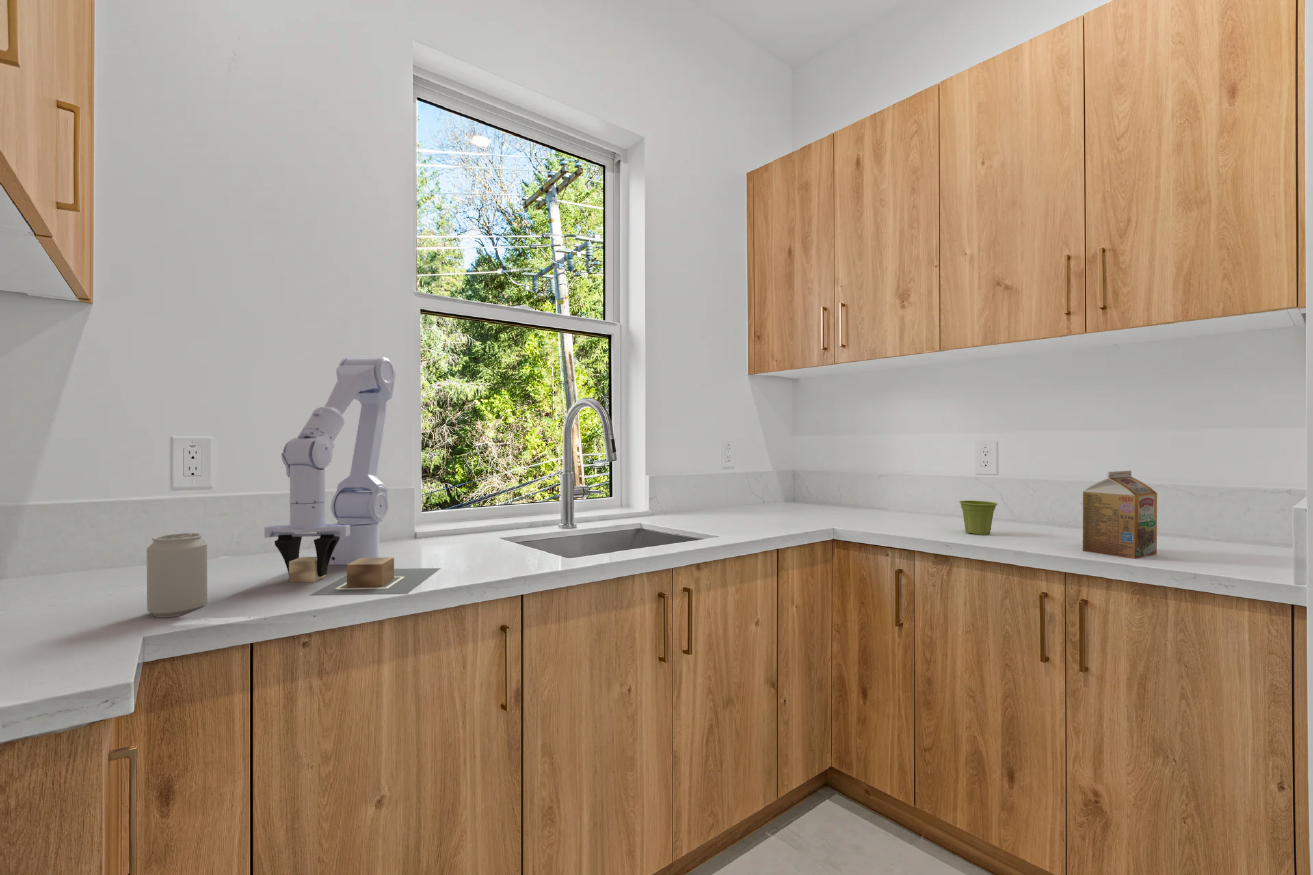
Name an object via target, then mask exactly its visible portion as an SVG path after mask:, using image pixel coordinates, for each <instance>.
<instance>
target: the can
mask: <svg viewBox="0 0 1313 875" xmlns="http://www.w3.org/2000/svg"><path fill="white" fill-rule="evenodd" d="M202 536H203V534H202V533H198V532H197V533H195V532H188V533H187V532H186V533H182V532H181V533H171V534H164V535H163V534H162V535H159V536H154V537H152V539H151V540H152V541H153V542H152V543H151V544H150V545H149V546H148V547H147V548H146V611H147V612H148V613H150V614H152V615H153V617H157V618H174V617H181V616H185V615H188V614H190V613H192V612H195V611H197V610H199V609H202V608H204V607H205V606H206V605H207V604H208V542H206V541H205V540H204V539H203V538H202Z"/></svg>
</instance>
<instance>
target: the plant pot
mask: <svg viewBox="0 0 1313 875" xmlns="http://www.w3.org/2000/svg"><path fill="white" fill-rule="evenodd" d="M958 503H959V504H960V507H961V509H962V516H963V522H964V523H963V524H964V531H965V533H966V534H973V535H977V536H978V535H980V536H985V535H990V534H991V530H992V523H993V518H994V512H995V510H996V506H997V505H998V503H997V502H993V501H986V500H984V501H983V500H959V502H958Z"/></svg>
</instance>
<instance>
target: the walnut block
mask: <svg viewBox="0 0 1313 875" xmlns="http://www.w3.org/2000/svg"><path fill="white" fill-rule="evenodd" d="M394 569H395V557H389V556H388V557H379V558H359V559H357V560H355V561H353V562H351V563H349V564H347V565H346V576H347V587H382V586H384V585H386V584H387V583H389V582H390V581H392V580H393V579H394Z"/></svg>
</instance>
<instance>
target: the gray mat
mask: <svg viewBox="0 0 1313 875" xmlns="http://www.w3.org/2000/svg"><path fill="white" fill-rule="evenodd" d="M441 569H442V568H441V567H437V568H433V567H432V568H431V567H430V568H425V567H424V568H415V567H413V568H394V579H393V580H392V581H390V582H389V583H387V584H386V585H384V586H382V587H347V575H344V577H342V578H339V579H338V580H335V581H334V582H332V583H329V584H328V585H326V586H323V587H322V588H320V589H318V590H317V591H314V592H312V593H311V594H309V596H349V595H350V596H351V595H352V596H353V595H355V596H357V595H358V596H359V595H361V596H363V595H365V596H367V595H368V596H369V595H408V594H409V593H410V592H411V591H413V590H414V589H416V588H417V587H418V586H419V585H421V584H422V583H423V582H425V581H426V580H428V579H429V578H430V577H432V576H433V575H434V574H435V573H437V572H438V571H439V570H441Z"/></svg>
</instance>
